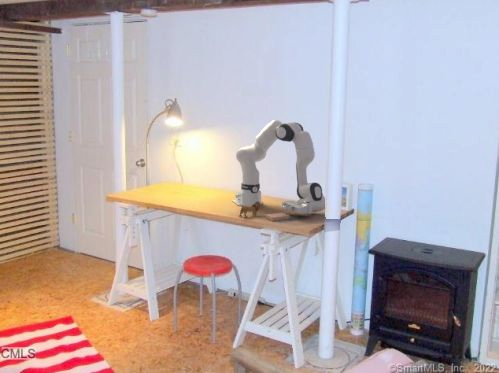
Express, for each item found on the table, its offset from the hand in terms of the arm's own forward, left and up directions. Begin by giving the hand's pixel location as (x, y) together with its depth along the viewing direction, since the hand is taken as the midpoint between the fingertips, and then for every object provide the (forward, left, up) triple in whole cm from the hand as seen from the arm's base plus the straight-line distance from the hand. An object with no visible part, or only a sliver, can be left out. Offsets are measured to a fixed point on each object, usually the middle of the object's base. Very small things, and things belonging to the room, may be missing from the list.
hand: (283, 208), depth 325 cm
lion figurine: (-14, -15, -7) cm, 22 cm away
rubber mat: (0, 0, -7) cm, 7 cm away
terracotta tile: (0, +2, -5) cm, 5 cm away
